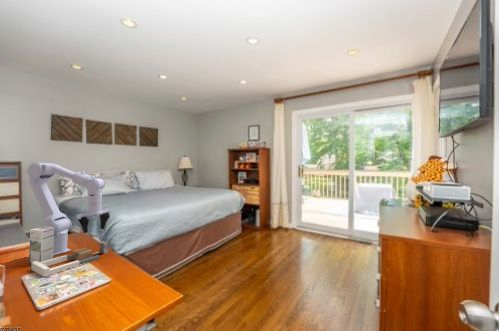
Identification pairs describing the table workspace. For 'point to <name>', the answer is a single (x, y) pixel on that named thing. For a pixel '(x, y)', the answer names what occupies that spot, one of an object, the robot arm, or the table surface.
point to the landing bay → (85, 259)
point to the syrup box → (41, 244)
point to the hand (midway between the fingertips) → (94, 230)
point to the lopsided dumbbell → (89, 252)
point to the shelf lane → (45, 271)
